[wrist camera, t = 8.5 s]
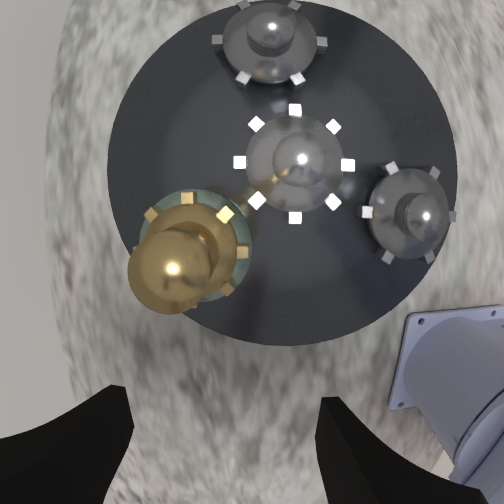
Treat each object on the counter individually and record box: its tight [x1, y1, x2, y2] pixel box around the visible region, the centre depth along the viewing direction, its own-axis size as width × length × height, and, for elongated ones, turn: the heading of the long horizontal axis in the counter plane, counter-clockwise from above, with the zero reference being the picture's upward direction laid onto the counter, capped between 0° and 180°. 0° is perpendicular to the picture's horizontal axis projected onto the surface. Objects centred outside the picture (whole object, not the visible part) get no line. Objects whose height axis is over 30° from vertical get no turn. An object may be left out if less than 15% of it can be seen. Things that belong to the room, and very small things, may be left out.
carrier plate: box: [107, 0, 457, 346], centre depth 15 cm, size 21×21×5 cm
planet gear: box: [128, 192, 249, 314], centre depth 15 cm, size 6×6×6 cm
